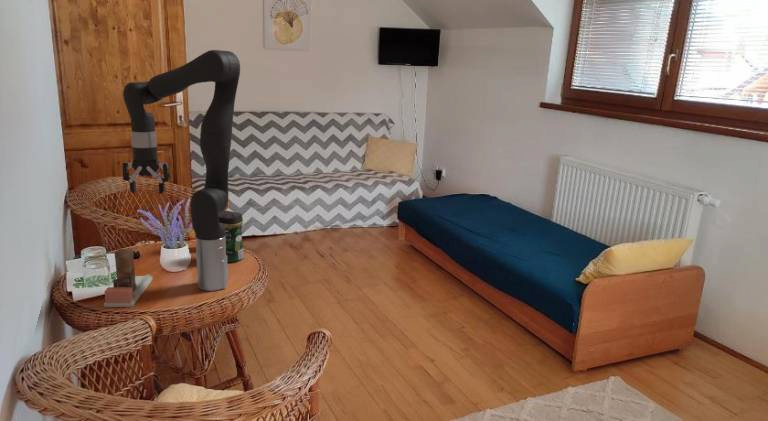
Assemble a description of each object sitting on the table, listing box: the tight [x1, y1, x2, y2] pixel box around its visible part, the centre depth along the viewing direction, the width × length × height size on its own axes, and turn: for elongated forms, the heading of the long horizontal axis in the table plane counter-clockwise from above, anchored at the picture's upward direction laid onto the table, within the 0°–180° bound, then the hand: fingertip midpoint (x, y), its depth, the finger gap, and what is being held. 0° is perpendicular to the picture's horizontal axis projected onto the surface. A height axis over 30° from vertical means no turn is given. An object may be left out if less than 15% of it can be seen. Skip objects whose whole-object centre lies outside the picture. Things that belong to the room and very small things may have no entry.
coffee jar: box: [218, 209, 244, 263], centre depth 203 cm, size 10×8×19 cm
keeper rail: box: [103, 273, 153, 308], centre depth 173 cm, size 8×21×5 cm, turn 7°
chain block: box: [112, 248, 137, 291], centre depth 169 cm, size 4×7×13 cm, turn 7°
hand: (147, 193), depth 183 cm, fingers open, 8 cm apart
